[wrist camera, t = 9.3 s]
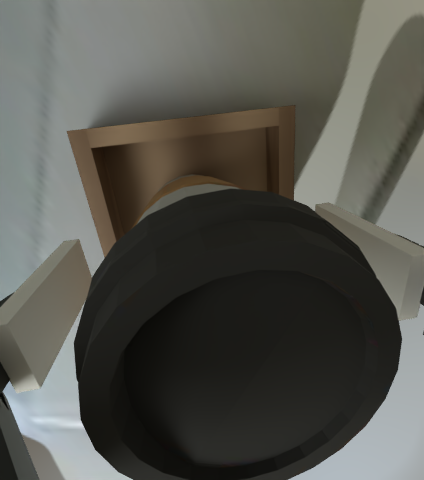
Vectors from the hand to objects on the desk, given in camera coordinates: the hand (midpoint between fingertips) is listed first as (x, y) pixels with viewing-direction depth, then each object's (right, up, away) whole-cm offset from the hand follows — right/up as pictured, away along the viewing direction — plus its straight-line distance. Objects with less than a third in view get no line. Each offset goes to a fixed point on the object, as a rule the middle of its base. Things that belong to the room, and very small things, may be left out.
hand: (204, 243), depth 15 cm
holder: (-1, +3, +6) cm, 7 cm away
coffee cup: (-1, +2, +5) cm, 6 cm away
